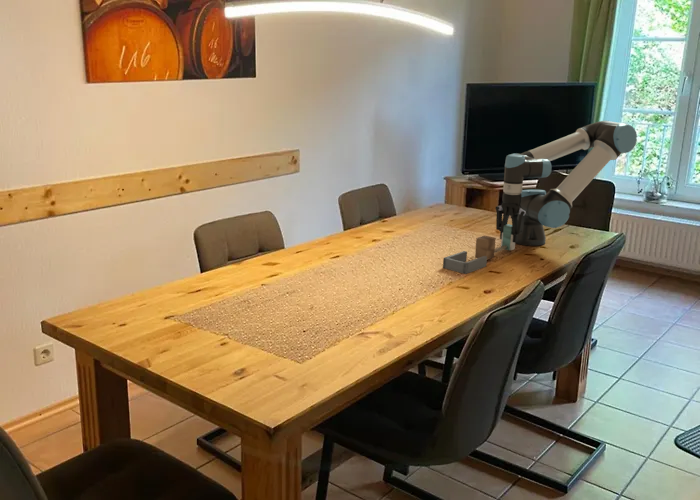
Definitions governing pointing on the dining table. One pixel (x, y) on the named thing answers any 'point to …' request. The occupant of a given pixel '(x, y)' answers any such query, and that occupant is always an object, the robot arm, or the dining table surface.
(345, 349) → the dining table surface
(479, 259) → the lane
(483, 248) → the tethered block
